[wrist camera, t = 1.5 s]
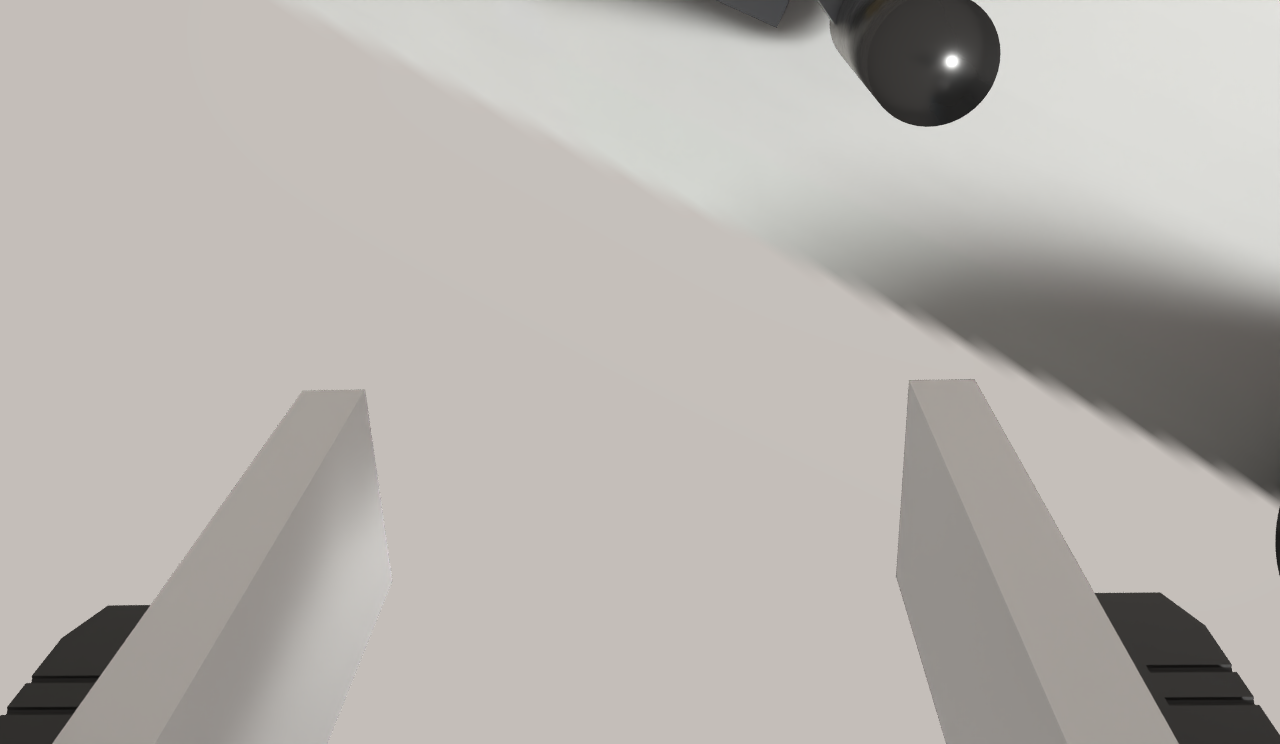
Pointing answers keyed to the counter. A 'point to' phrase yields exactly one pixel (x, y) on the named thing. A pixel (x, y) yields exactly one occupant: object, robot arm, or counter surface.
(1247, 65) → the counter surface
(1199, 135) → the counter surface
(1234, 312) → the counter surface
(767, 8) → the base
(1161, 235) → the counter surface
